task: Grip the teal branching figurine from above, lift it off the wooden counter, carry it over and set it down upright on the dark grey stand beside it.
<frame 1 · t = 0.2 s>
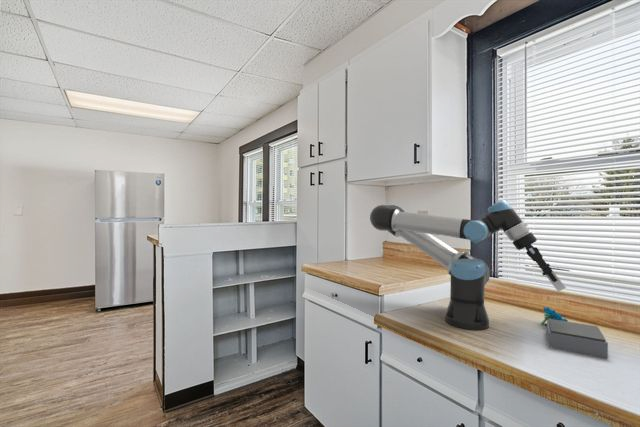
hand: (559, 286, 118), 15 cm above the counter, tool tilted 35°, fingers open, 13 cm apart
teal branching figurine: (555, 328, 119), on the counter
stand: (574, 343, 104), on the counter
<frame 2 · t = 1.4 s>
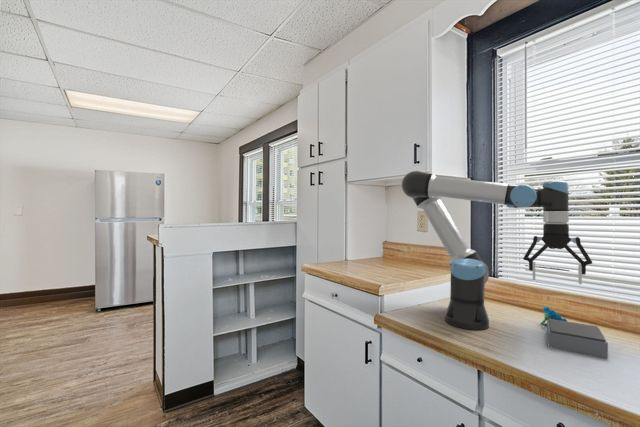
hand: (556, 281, 119), 17 cm above the counter, tool pointing down, fingers open, 13 cm apart
nothing on the counter moved.
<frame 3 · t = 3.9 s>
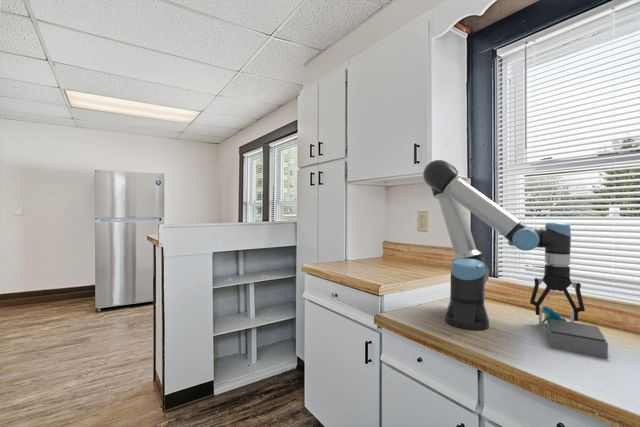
hand: (555, 326, 119), 0 cm above the counter, tool pointing down, fingers closed on teal branching figurine, 9 cm apart
teal branching figurine: (555, 328, 119), on the counter, touching gripper
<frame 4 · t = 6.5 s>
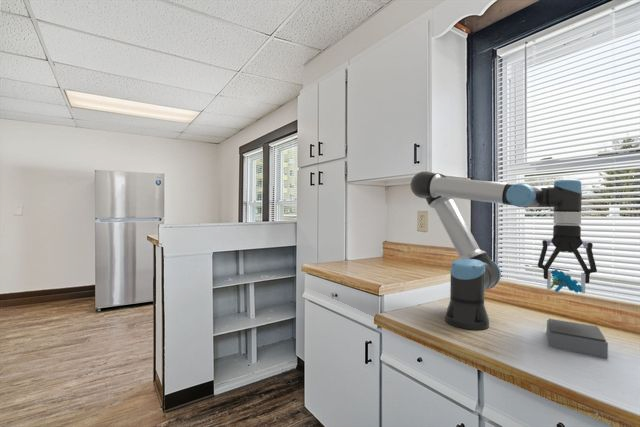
hand: (565, 290, 111), 15 cm above the counter, tool pointing down, fingers closed on teal branching figurine, 9 cm apart
teal branching figurine: (564, 292, 111), point 15 cm above the counter, touching gripper
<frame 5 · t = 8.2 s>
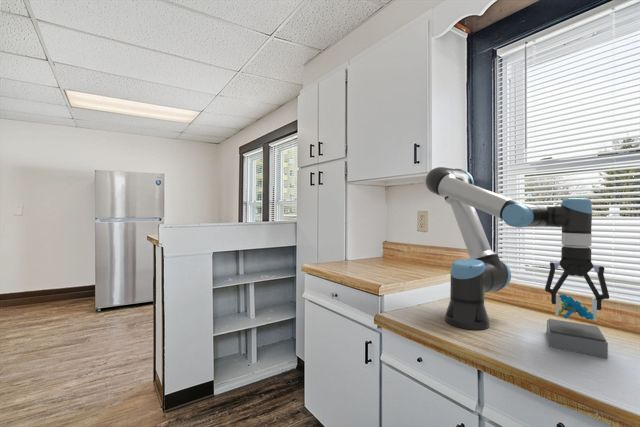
hand: (575, 317, 104), 9 cm above the counter, tool pointing down, fingers closed on teal branching figurine, 9 cm apart
teal branching figurine: (574, 318, 104), point 8 cm above the counter, touching gripper
when the fingers open (7 cm above the counter, at t = 9.4 s): teal branching figurine drops 1 cm, resting on stand.
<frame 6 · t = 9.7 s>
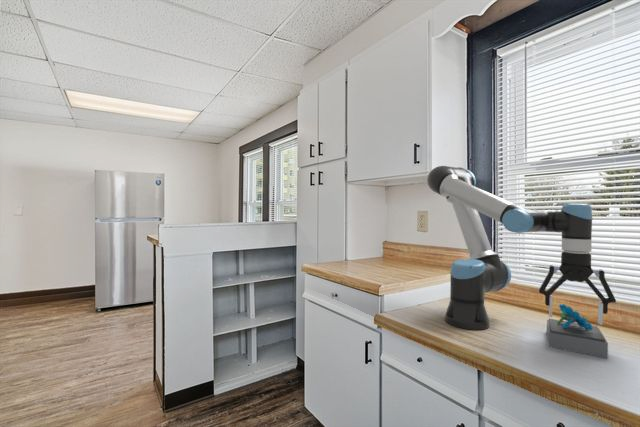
hand: (574, 319, 104), 8 cm above the counter, tool pointing down, fingers open, 12 cm apart
teal branching figurine: (573, 328, 104), point 5 cm above the counter, touching stand
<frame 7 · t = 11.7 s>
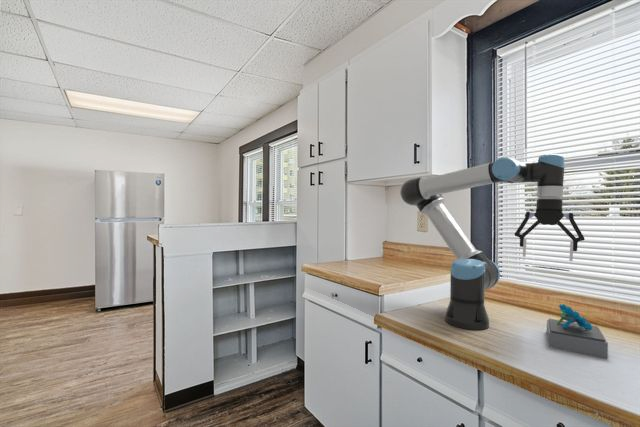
hand: (546, 258, 116), 26 cm above the counter, tool pointing down, fingers open, 13 cm apart
nothing on the counter moved.
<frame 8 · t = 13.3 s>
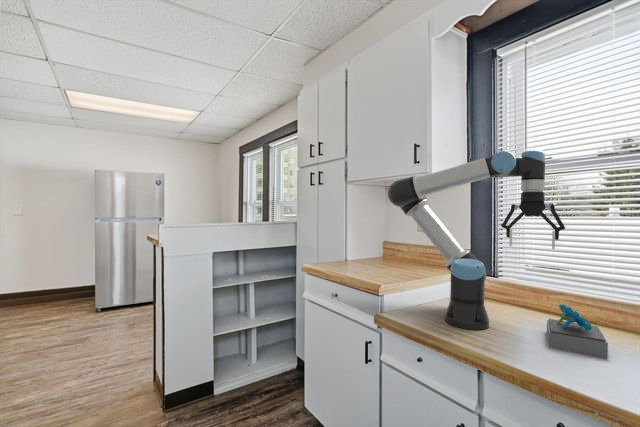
hand: (531, 247, 124), 29 cm above the counter, tool pointing down, fingers open, 13 cm apart
nothing on the counter moved.
at the end: teal branching figurine inside the target area on the stand (0.3 cm from its centre), point 4.8 cm above the stand's base; teal branching figurine tilted 0°; the gripper is holding nothing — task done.
